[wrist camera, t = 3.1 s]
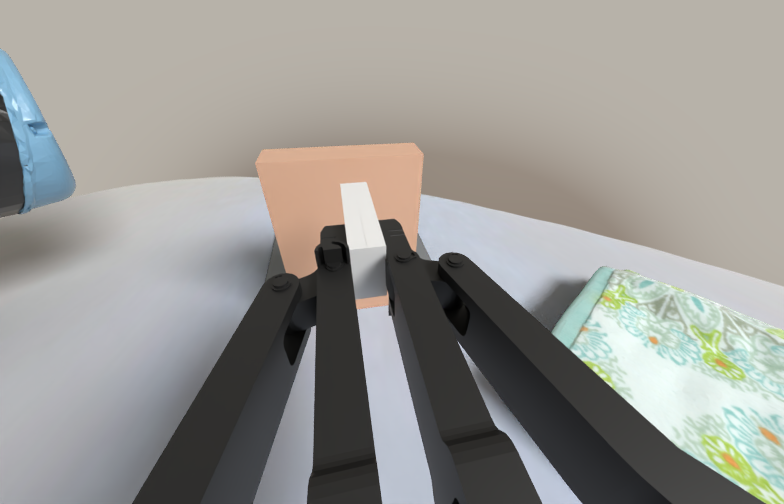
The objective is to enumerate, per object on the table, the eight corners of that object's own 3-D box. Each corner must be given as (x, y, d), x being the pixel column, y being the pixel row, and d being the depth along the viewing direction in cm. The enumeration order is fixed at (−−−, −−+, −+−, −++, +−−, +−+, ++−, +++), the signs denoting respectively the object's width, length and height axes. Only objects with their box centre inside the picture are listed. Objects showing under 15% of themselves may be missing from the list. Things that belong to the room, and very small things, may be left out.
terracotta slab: (298, 317, 29) (255, 163, 20) (300, 294, 32) (263, 148, 22) (412, 301, 31) (423, 154, 21) (405, 281, 34) (412, 141, 24)
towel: (829, 396, 24) (895, 360, 21) (877, 733, 12) (1044, 768, 9) (591, 283, 34) (611, 249, 31) (496, 405, 23) (513, 370, 20)
